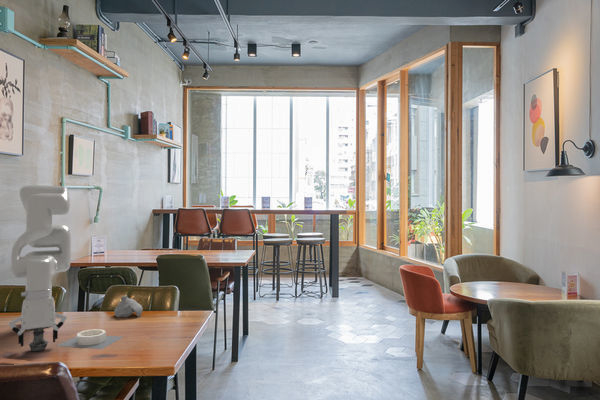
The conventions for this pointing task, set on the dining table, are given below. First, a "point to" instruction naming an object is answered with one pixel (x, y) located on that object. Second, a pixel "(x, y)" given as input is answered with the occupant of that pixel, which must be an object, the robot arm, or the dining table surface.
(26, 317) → the robot arm
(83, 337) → the white round dish
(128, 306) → the grey clay mound
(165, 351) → the dining table surface
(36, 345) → the dark grey chess piece
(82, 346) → the board
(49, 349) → the dining table surface
